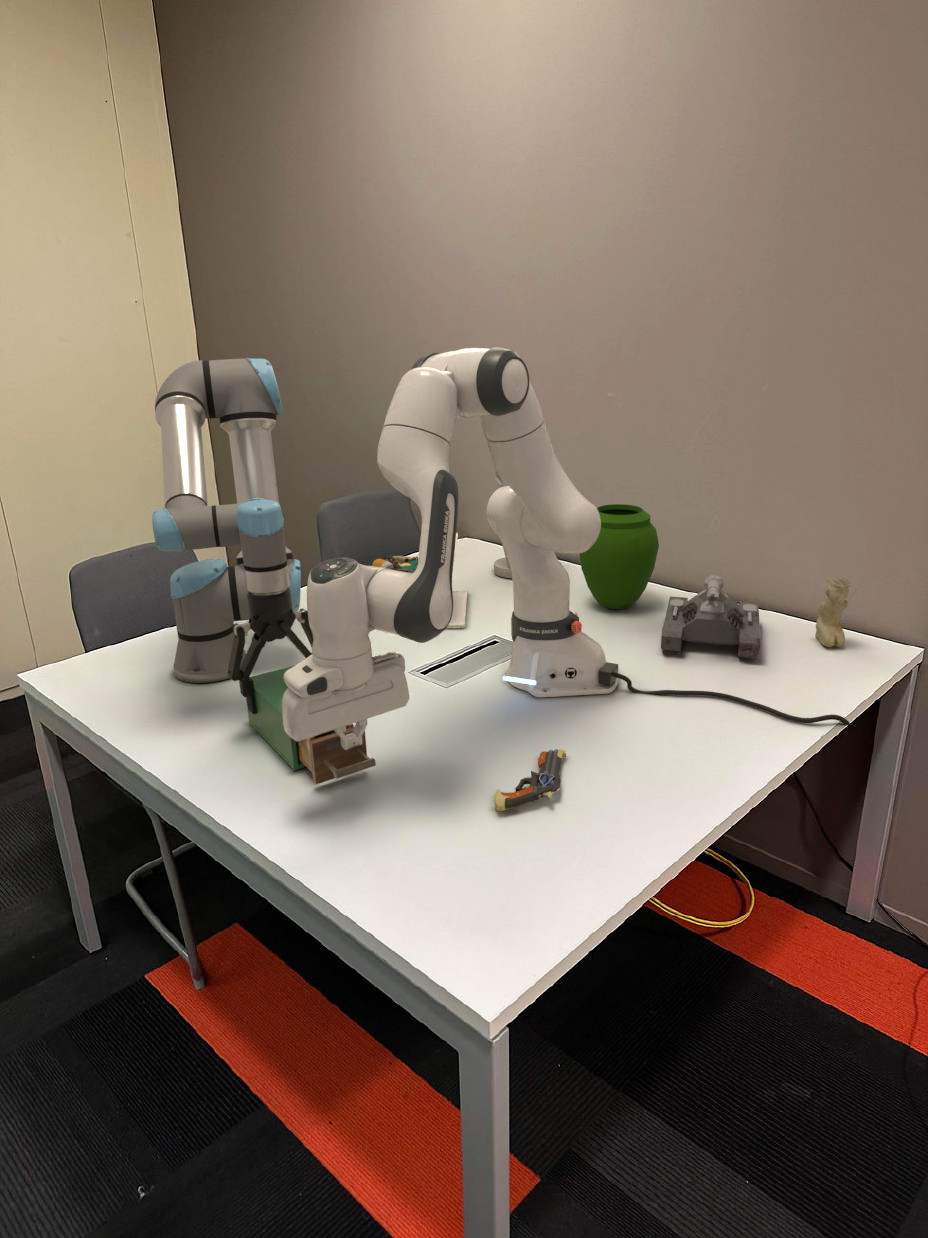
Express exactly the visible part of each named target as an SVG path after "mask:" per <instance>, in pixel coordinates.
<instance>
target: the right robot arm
mask: <svg viewBox="0 0 928 1238" xmlns="http://www.w3.org/2000/svg"><path fill="white" fill-rule="evenodd" d="M471 418H479V420H480V424H481V428H482V432H483V435H484V438H485V442H486V444H487V447H488V450H489V454H490V457H491V460H492V463H493V466H494V469H495V471H496V472H497V474H498V476H499V477H500V478H501V480H502V481H503V482H504V483H506V484H507V485H508V486H504V487H502V486H500V487H499V488H497V489H496V490H495V491H494V492H493V493H492V495H490V497H489V500H488V502H487V505H486V512H487V514H486V520H487V523H488V526H489V527H490V528H491V529H492V530H493V532H494V533H495V534H496V536H497V537H498V539H499V540H500V542H501V546H502V545H503V546H502V548H503V547H504V549H503V551H504V550H505V552H506V555H507V558H508V561H509V564H510V568H511V572H512V578H511V579H512V592H513V593H512V594H513V596H512V597H513V611H512V612H511V618H510V635H511V640H512V645H511V646H512V647H511V655H510V660H509V665H508V669H507V672H506V675H503V676H502V681H506V682H507V683H509V684H510V685H511V686H513V687H515V688H517V689H519V690H522V691H525V692H527V693H529V694H530V695H531V696H533V697H535V698H556V697H572V696H573V697H574V696H588V695H589V696H590V695H591V696H592V695H607V694H611V693H612V692H613V691H615V690H616V688H617V686H618V679H620V680H623V682H626V687H627V690H628V691H629V692H631V693H633V694H642V695H649V696H666V695H667V696H668V695H669V696H703V697H712V698H719V699H724V700H729V701H733V702H736V703H739V704H742V705H745V706H749V707H751V708H755V709H759V710H762V711H764V712H767V713H770V714H771V715H774V716H777V717H778V718H782V719H784V720H788V721H792V722H796V723H800V724H813V723H819V722H824V721H830V720H831V721H832V720H833V721H839V722H840V723H842V724H843V725H844V726H851V725H852V724H851V722H849V720H847V718H845V717H843V716H842V715H838V714H825V715H820V716H815V717H800V716H797V715H796V716H795V715H793V714H792V715H791V714H788V713H785V712H782V711H780V710H777V709H776V708H775V709H774V708H772V707H770V706H768V705H764V704H761V703H759V702H755V701H751V700H748V699H745V698H742V697H738V696H735V695H732V694H729V693H728V694H727V693H722V692H716V691H709V690H708V691H707V690H677V689H660V690H648V691H647V690H639V689H637V688H635V687H633V682H632V680H631V679H630V678H629V676H626V675H624V674H622V673H619V664H618V663H615V662H614V663H613V662H607V658H606V654H605V651H604V648H603V647H602V645H601V644H600V643H599V642H598V641H596V640H595V639H593V638H591V637H590V636H589V635H587V634H586V633H585V632H583V631H582V630H583V626H582V625H583V624H582V622H581V621H580V616H579V615H578V612H577V611H575V613H574V612H573V611H571V610H570V590H571V589H570V586H571V585H570V584H571V579H570V576H569V575H570V574H569V572H568V571H567V569H566V568H565V567H564V565H563V564H562V563H561V562H560V561H559V559H558V557H557V555H556V553H559V554H579V553H583V552H585V551H587V550H589V549H590V548H591V547H592V546H593V545H594V543H595V542H596V540H597V538H598V536H599V533H600V529H601V518H600V514H599V511H598V509H597V508H598V507H596V505H594V504H593V503H592V502H590V501H589V500H588V499H587V498H586V497H585V496H584V495H583V494H582V493H581V492H580V490H578V489H577V487H576V485H574V483H573V482H572V480H571V479H570V478H569V476H568V474H567V472H566V471H565V470H564V468H563V466H562V464H561V463H560V462H559V459H558V457H557V455H556V452H555V449H554V447H553V444H552V440H551V437H550V433H549V430H548V428H547V427H548V426H547V424H546V420H545V416H544V412H543V409H542V407H541V403H540V401H539V399H538V396H537V394H536V392H535V389H534V386H533V384H532V383H531V381H530V374H529V370H528V367H527V364H526V363H525V361H524V360H523V359H522V357H521V356H520V355H519V354H518V353H517V352H516V351H515V350H511V349H508V348H504V347H497V346H496V347H495V346H494V347H491V348H485V347H466V348H465V347H464V348H461V349H456V350H451V351H445V352H433V353H429V354H426V355H423V356H422V357H420V358H419V359H418V360H416V361H415V362H414V364H413V365H412V366H411V368H410V370H408V371H406V372H405V374H403V375H402V377H401V379H400V380H399V383H398V385H397V387H396V389H395V391H394V393H393V396H392V398H391V401H390V403H389V407H388V409H387V412H386V415H385V419H384V422H383V424H382V425H383V427H382V430H381V432H380V436H379V440H378V445H377V451H376V452H377V453H376V462H377V466H378V469H379V471H380V473H381V475H382V477H383V478H384V480H385V481H386V482H387V483H388V484H389V486H391V487H392V488H393V489H394V490H396V491H397V492H398V493H400V494H402V495H403V496H405V497H407V498H408V499H410V500H411V501H412V502H413V503H414V504H415V505H416V506H417V508H418V509H419V512H420V516H421V528H420V538H419V548H418V566H417V569H416V570H415V572H414V573H407V572H402V571H396V570H392V569H388V568H382V567H377V566H372V565H366V564H362V563H359V562H358V561H357V560H356V559H353V558H352V557H345V556H343V557H342V556H341V557H333V558H329V559H326V560H325V559H324V560H323V561H321V562H319V563H318V564H316V565H315V566H313V568H311V570H310V572H309V573H308V577H307V584H306V610H307V611H308V620H309V626H310V628H311V631H312V633H313V645H312V647H311V653H312V654H311V655H310V656H309V657H307V658H305V659H303V660H301V661H300V662H299V663H297V664H295V666H294V665H293V666H294V667H292V668H291V669H289V670H287V671H286V672H285V673H284V682H285V684H286V685H287V686H288V687H289V688H287V690H286V691H285V693H284V695H283V700H282V717H283V726H284V730H285V732H286V733H287V734H288V735H289V736H290V737H291V738H292V739H294V740H295V741H302V740H304V739H307V738H310V737H313V736H316V735H319V734H323V733H326V732H329V731H332V730H334V731H335V732H336V733H337V735H338V736H339V737H340V739H341V746H342V748H344V749H345V750H347V749H350V748H353V747H356V746H359V745H362V735H363V733H364V731H365V732H366V729H367V726H368V719H370V718H374V717H377V716H380V715H383V714H385V713H389V712H391V711H392V712H393V711H395V710H398V709H401V708H404V707H406V706H407V704H408V703H409V701H410V691H409V690H410V689H409V686H408V681H407V677H406V674H405V671H406V660H405V657H404V656H403V654H402V653H399V652H396V651H389V652H386V653H384V654H378V655H375V656H373V650H372V641H371V638H370V636H369V634H370V633H371V632H373V631H374V630H376V631H380V632H384V633H389V634H392V635H397V636H399V637H402V638H405V639H407V640H409V641H413V642H416V643H418V644H424V643H428V642H430V641H432V640H434V639H435V638H437V637H439V635H441V634H442V633H443V632H444V631H445V630H446V629H447V628H446V627H447V626H448V625H449V623H450V621H451V618H452V613H453V592H452V591H453V573H454V572H453V571H454V562H455V559H454V552H455V541H456V533H457V528H458V519H459V518H458V516H459V499H460V498H459V496H460V495H459V486H458V483H457V479H456V478H455V476H453V475H452V474H451V471H450V460H449V459H450V450H451V446H452V442H453V438H454V432H455V427H456V420H457V419H471ZM455 553H456V552H455ZM350 724H355V725H354V727H355V728H354V731H353V732H352V733H350V734H347V735H345V734H344V733H343V732H345V731H346V726H347V725H350Z"/></svg>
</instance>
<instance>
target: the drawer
mask: <svg viewBox="0 0 928 1238" xmlns="http://www.w3.org/2000/svg"><path fill="white" fill-rule="evenodd" d="M354 724H355V723H353V724H350V725H347V726H346V731H345V732H343V733H344V734H345V735H347V734H350V733H352V732H353V731H354V728H355V725H354ZM296 748H297V757H298V759H299V760H300V761H301V762H302V763H303V764H304V765H305V766H306V767H305V768H307V769H308V771H310V773H312V782H313V783H314V784H315V785H320V784H322V783H325V782H327V781H331V780H334V779H335V780H338V779H341V778H343V777H346V776H350V775H353V774H355V773H358V772H361V771H364V770H368V769H370V768H372V767H376V765H377V761H376V760H375V757H371V758H370V757H369V756H368V751H367V740H366V730H365V731H364V733H363V735H362V745H359V746H356V747H353V748H350V749H347V750H345V749H344V748H342V746H341V739H340V737H339V736H338V735H337V733H336V732H335V731H334V730H332V731H329V732H326V733H323V734H319V735H316V736H313V737H310V738H307V739H304V740H302V741H296Z"/></svg>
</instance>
